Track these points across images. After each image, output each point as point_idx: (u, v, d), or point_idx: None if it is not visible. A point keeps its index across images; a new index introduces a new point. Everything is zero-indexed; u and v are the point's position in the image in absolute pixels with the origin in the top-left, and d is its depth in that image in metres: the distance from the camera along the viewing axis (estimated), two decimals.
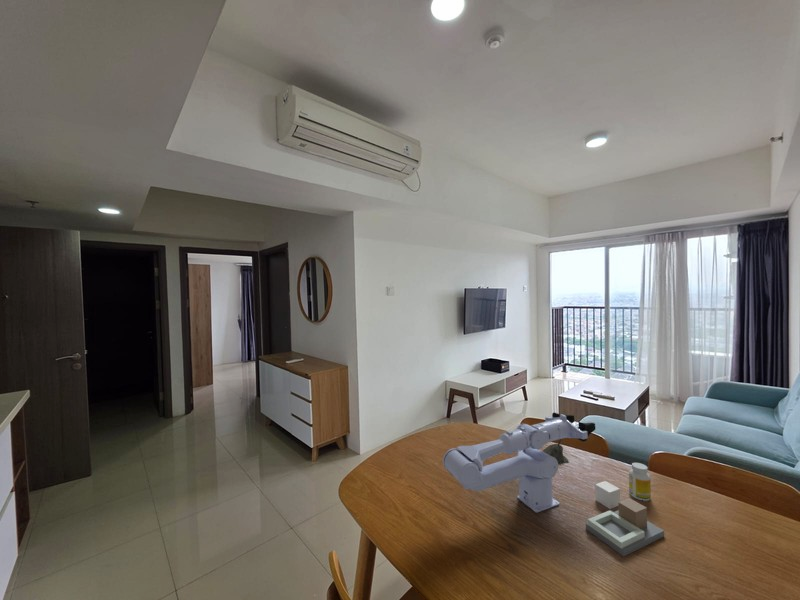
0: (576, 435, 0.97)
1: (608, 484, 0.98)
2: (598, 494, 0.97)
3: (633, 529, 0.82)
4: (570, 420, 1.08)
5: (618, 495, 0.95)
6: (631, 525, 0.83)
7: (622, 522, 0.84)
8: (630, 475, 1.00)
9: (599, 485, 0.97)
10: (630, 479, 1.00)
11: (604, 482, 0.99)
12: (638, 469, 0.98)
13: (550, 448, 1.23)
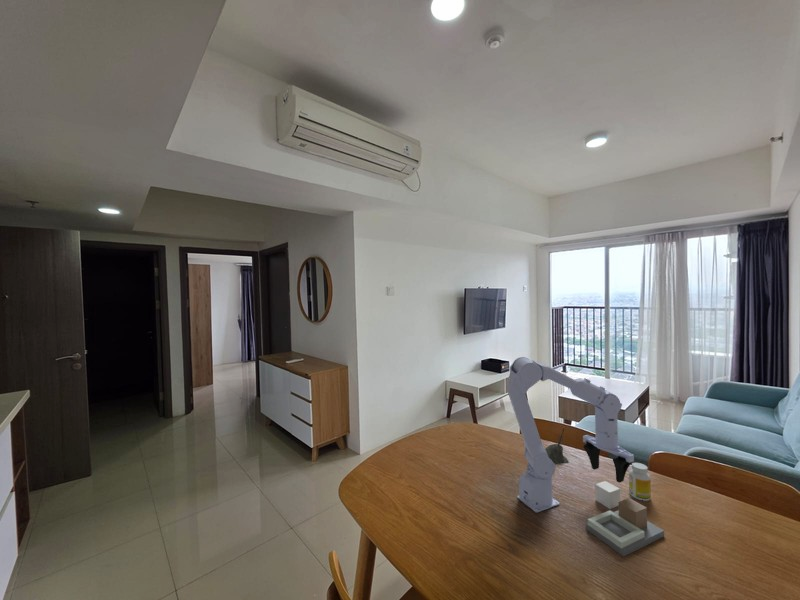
0: (620, 452, 0.92)
1: (608, 484, 0.98)
2: (598, 494, 0.97)
3: (633, 529, 0.82)
4: (595, 463, 1.00)
5: (618, 495, 0.95)
6: (631, 525, 0.83)
7: (622, 522, 0.84)
8: (630, 475, 1.00)
9: (599, 485, 0.97)
10: (630, 479, 1.00)
11: (604, 482, 0.99)
12: (638, 469, 0.98)
13: (550, 448, 1.23)
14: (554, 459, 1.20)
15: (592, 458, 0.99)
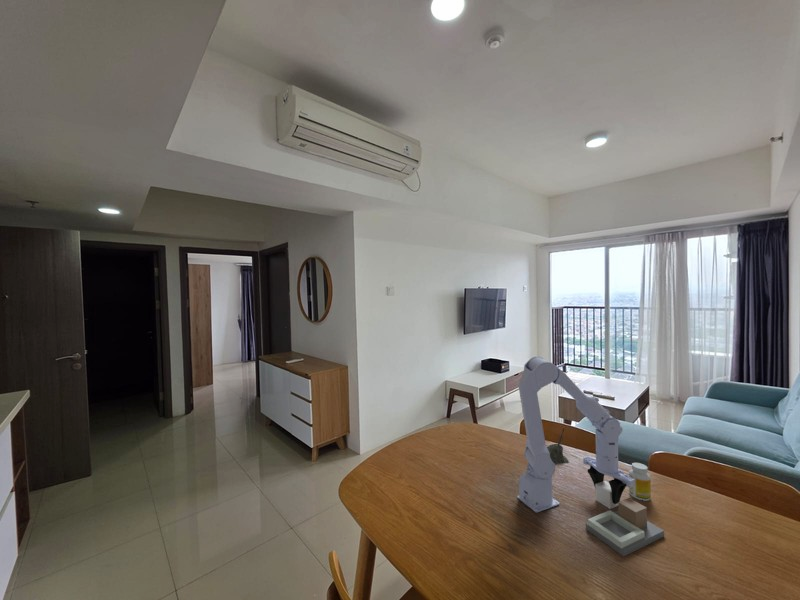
0: (621, 477, 0.92)
1: (608, 484, 0.98)
2: (598, 494, 0.97)
3: (633, 529, 0.82)
4: None
5: None
6: (631, 525, 0.83)
7: (622, 522, 0.84)
8: (630, 475, 1.00)
9: (599, 485, 0.97)
10: None
11: (604, 482, 0.99)
12: (638, 469, 0.98)
13: (550, 448, 1.23)
14: (554, 459, 1.20)
15: None
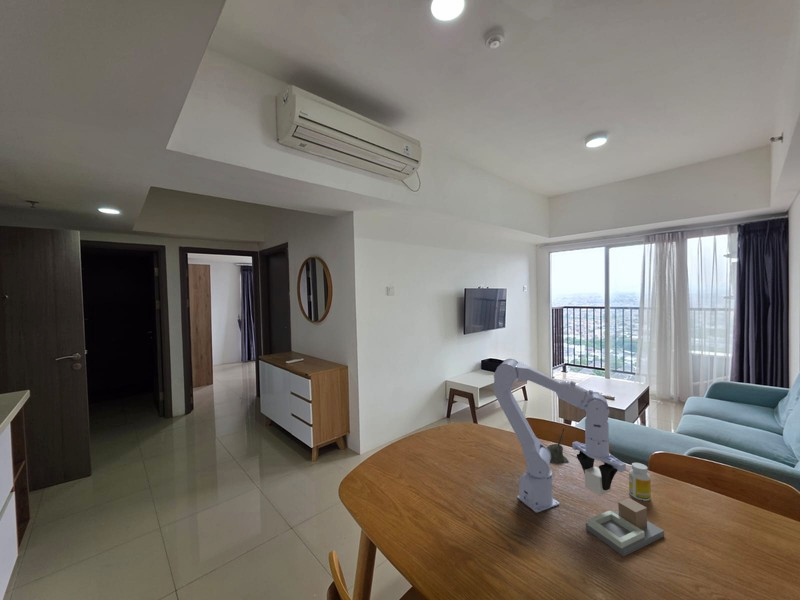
0: (611, 461, 0.86)
1: (598, 469, 0.92)
2: (588, 480, 0.91)
3: (633, 529, 0.82)
4: None
5: None
6: (631, 525, 0.83)
7: (622, 522, 0.84)
8: (630, 475, 1.00)
9: (589, 470, 0.91)
10: (630, 479, 1.00)
11: (594, 467, 0.93)
12: (638, 469, 0.98)
13: (550, 448, 1.23)
14: (554, 459, 1.20)
15: (586, 468, 0.92)
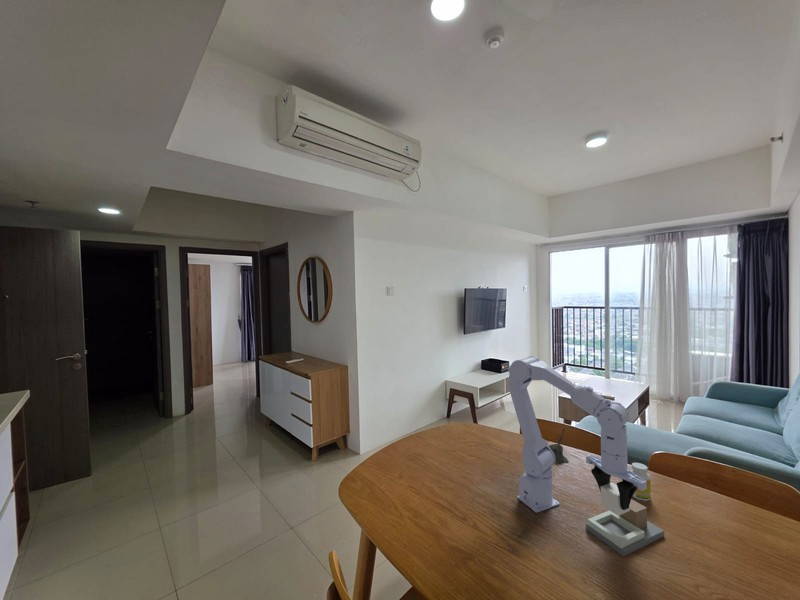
0: (631, 478, 0.78)
1: (615, 486, 0.84)
2: (604, 498, 0.83)
3: (633, 529, 0.82)
4: None
5: None
6: (631, 525, 0.83)
7: (622, 522, 0.84)
8: None
9: (605, 487, 0.84)
10: None
11: (611, 484, 0.85)
12: (638, 469, 0.98)
13: (550, 448, 1.23)
14: None
15: (602, 485, 0.85)
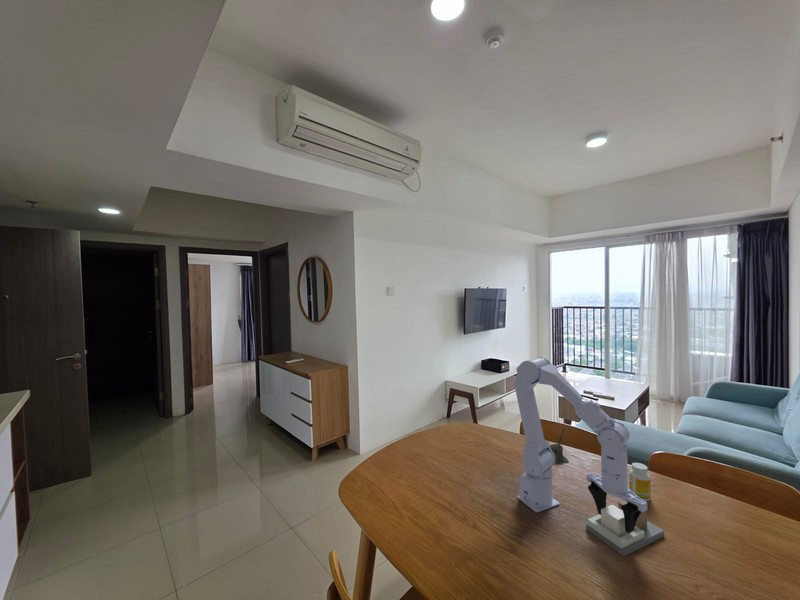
0: (631, 499, 0.78)
1: (616, 509, 0.84)
2: (604, 521, 0.83)
3: None
4: (601, 507, 0.86)
5: None
6: None
7: None
8: (630, 475, 1.00)
9: (605, 510, 0.84)
10: (630, 479, 1.00)
11: (611, 506, 0.85)
12: (638, 469, 0.98)
13: None
14: None
15: (599, 502, 0.86)
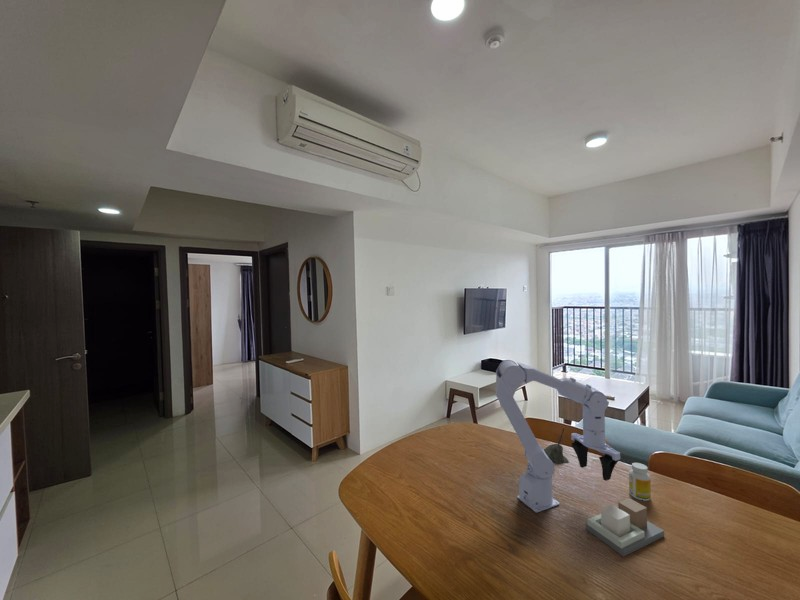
0: (607, 450, 0.91)
1: (616, 509, 0.84)
2: (604, 521, 0.83)
3: (633, 529, 0.82)
4: (583, 461, 0.99)
5: (628, 522, 0.82)
6: (631, 525, 0.83)
7: None
8: (630, 475, 1.00)
9: (605, 510, 0.84)
10: (630, 479, 1.00)
11: (611, 506, 0.85)
12: (638, 469, 0.98)
13: (550, 448, 1.23)
14: (554, 459, 1.20)
15: (580, 456, 0.99)
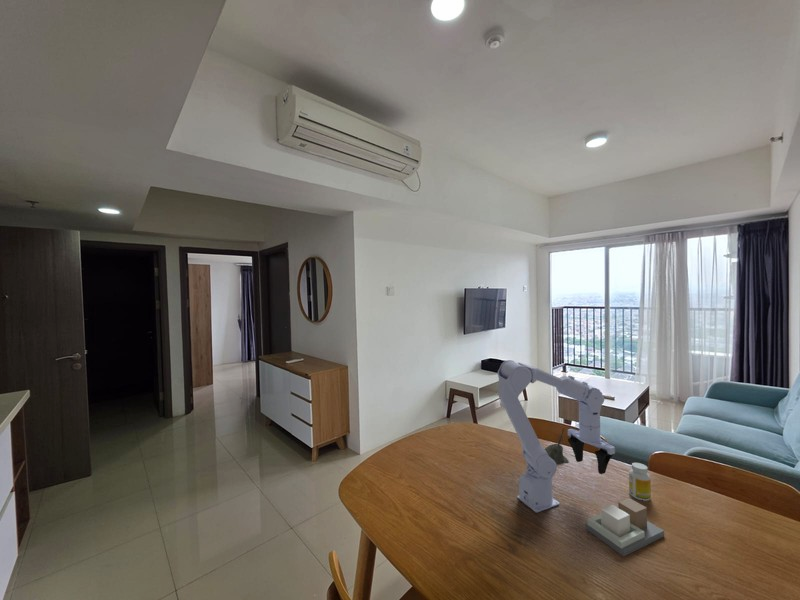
0: (602, 445, 0.95)
1: (616, 509, 0.84)
2: (604, 521, 0.83)
3: (633, 529, 0.82)
4: (579, 456, 1.03)
5: (628, 522, 0.82)
6: (631, 525, 0.83)
7: None
8: (630, 475, 1.00)
9: (605, 510, 0.84)
10: (630, 479, 1.00)
11: (611, 506, 0.85)
12: (638, 469, 0.98)
13: (550, 448, 1.23)
14: (554, 459, 1.20)
15: (576, 451, 1.02)
